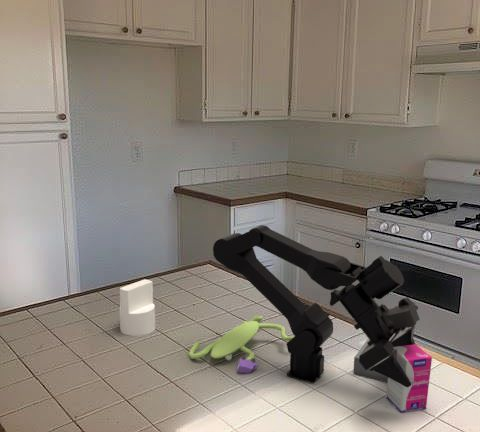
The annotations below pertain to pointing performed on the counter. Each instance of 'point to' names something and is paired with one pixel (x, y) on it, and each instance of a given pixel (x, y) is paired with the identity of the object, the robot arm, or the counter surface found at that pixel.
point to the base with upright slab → (137, 308)
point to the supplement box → (411, 379)
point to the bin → (367, 373)
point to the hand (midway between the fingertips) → (415, 375)
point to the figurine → (237, 344)
